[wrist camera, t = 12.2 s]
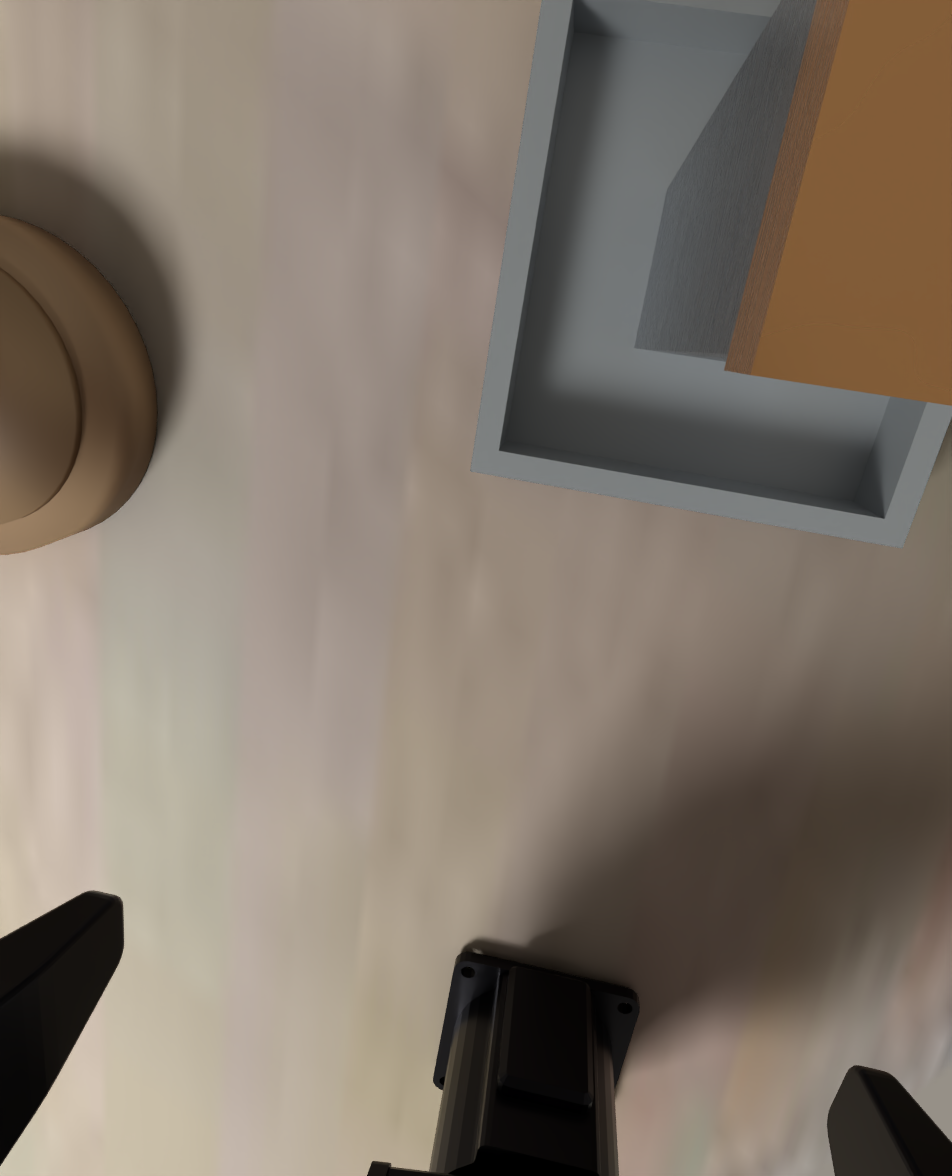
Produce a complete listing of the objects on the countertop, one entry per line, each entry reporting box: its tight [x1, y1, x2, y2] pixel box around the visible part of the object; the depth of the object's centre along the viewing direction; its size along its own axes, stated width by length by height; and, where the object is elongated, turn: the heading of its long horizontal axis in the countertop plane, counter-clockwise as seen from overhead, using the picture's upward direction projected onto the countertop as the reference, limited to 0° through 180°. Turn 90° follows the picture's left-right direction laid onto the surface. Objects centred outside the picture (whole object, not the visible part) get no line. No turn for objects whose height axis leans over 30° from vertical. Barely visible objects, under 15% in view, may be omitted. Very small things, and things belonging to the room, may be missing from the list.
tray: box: [470, 0, 952, 548], centre depth 16 cm, size 10×10×2 cm
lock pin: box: [634, 0, 952, 406], centre depth 11 cm, size 4×4×13 cm
